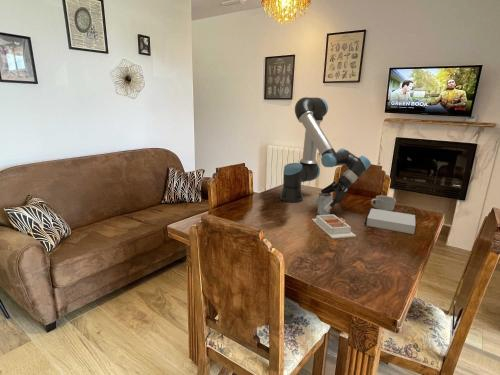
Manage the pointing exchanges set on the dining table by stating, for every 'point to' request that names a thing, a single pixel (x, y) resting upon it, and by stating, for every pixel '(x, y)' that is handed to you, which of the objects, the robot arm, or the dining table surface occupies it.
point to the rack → (334, 226)
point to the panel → (323, 203)
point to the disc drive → (391, 220)
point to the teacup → (384, 203)
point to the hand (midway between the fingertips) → (320, 206)
